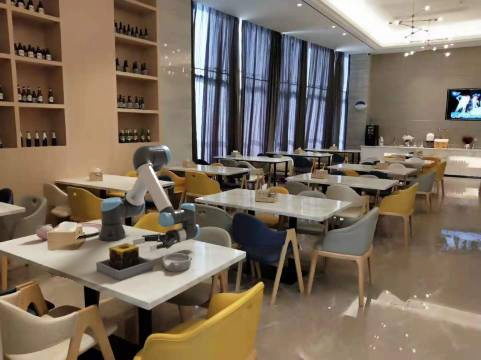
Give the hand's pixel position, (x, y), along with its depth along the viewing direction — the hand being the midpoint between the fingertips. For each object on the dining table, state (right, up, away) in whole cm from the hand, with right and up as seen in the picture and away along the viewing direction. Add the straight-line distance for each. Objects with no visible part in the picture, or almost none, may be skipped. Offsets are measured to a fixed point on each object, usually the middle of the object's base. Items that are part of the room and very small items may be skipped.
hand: (141, 245), depth 190 cm
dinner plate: (-51, -2, +56) cm, 76 cm away
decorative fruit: (-66, -4, +40) cm, 77 cm away
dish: (+17, -10, -1) cm, 20 cm away
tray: (-6, -10, -6) cm, 14 cm away
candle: (-6, -10, -6) cm, 13 cm away
